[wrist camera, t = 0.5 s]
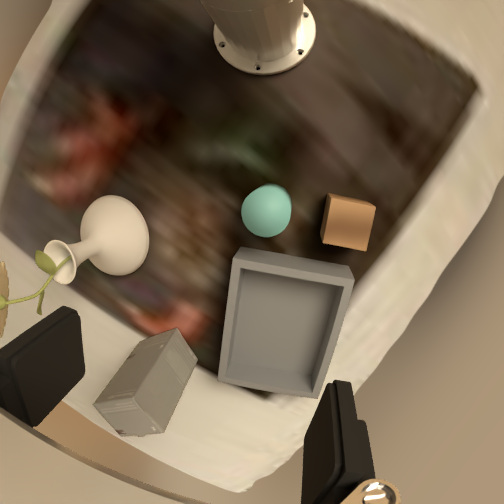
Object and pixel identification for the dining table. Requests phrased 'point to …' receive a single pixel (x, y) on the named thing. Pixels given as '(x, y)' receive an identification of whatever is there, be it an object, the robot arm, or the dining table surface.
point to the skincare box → (148, 385)
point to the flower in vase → (90, 248)
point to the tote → (282, 321)
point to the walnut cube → (347, 222)
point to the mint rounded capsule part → (267, 210)
